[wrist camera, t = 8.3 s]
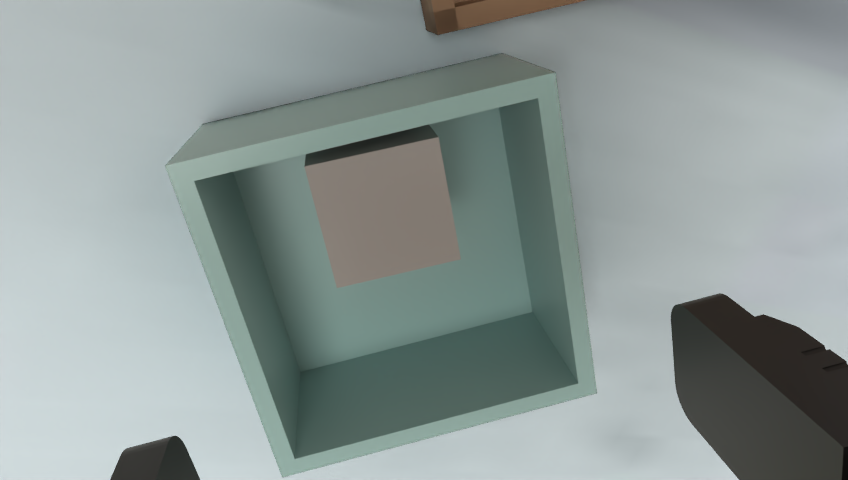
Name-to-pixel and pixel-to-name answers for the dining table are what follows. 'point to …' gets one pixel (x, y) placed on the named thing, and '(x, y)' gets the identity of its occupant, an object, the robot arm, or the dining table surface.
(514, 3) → the walnut tray
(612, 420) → the dining table surface
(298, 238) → the teal bin
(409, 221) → the grey brown block
